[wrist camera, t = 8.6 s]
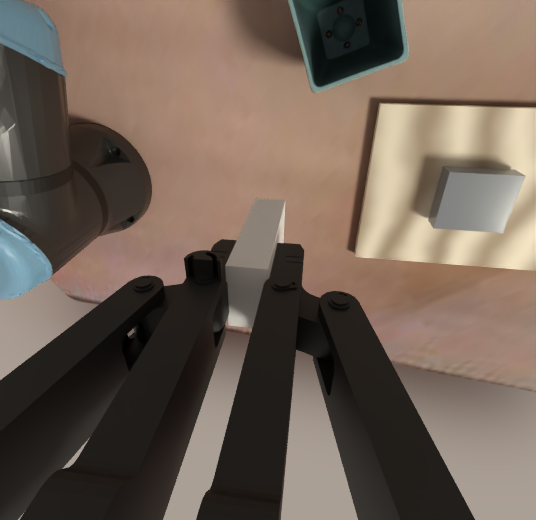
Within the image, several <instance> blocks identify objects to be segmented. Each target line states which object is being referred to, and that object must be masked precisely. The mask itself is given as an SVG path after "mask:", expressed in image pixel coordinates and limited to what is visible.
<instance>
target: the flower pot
mask: <svg viewBox="0 0 536 520" xmlns="http://www.w3.org/2000/svg"><path fill="white" fill-rule="evenodd" d="M288 3H289V7H290V11H291V15H292V18H293V21H294V25H295V29H296V33H297V36H298V41H299V44H300V48H301V52H302V56H303V60H304V63H305V68H306V72H307V76H308V80H309V84H310V88H311V90H312V92H313V93H320V92H323V91H325V90H328V89H330V88H333V87H336V86H338V85H341V84H344V83H346V82H349V81H352V80H354V79H357V78H360V77H363V76H366V75H368V74H371V73H374V72H377V71H379V70H382V69H385V68H388V67H391V66H393V65H397V64H399V63H402V62H404V61H406V60H407V59H408V57H409V46H408V39H407V32H406V26H405V19H404V12H403V5H402V0H288ZM338 8H342V9H343V11H342V13H341V14H339V13H338ZM358 19H361V21H362V22H361V24H360V25H357V23H356V21H357V20H358ZM328 31H329V32H331V36H330V37H327V36H326V33H327V32H328ZM346 42H349V47H347V48H346V47H345V43H346Z"/></svg>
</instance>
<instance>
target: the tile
mask: <svg viewBox="0 0 536 520" xmlns="http://www.w3.org/2000/svg"><path fill="white" fill-rule="evenodd" d="M525 177H526V176H525V175H523V174H522V173H520V172H518V171H516V170H513V169H492V168H471V167H450V166H443V168H442V172H441V175H440V179H439V182H438V186H437V190H436V193H435V197H434V200H433V204H432V208H431V211H430V215H429V218H428V221H429V222H430V224H431V225H432V227H433V228H434V229H449V230H464V231H479V232H494V233H503V231H504V228H505V226H506V223H507V221H508V218H509V216H510V214H511V211H512V209H513V206H514V204H515V201H516V199H517V196H518V194H519V192H520V189H521V187H522V184H523V182H524V179H525Z"/></svg>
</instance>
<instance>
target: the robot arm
mask: <svg viewBox="0 0 536 520" xmlns="http://www.w3.org/2000/svg"><path fill="white" fill-rule="evenodd" d="M65 77H67V73H66V71H65V69H64V68H63V62H62V55H61V48H60V41H59V35H58V31H57V28H56V26H55V24H54V22H53V21H52V19H51V18H50V17H49V15H48V14H47V13H46V12H45V11H43V10H42V9H41V8H39V7H38V6H36V5H34V4H31V3H29V2H26V1H24V0H0V299H11V298H15V297H19V296H21V295H23V294H25V293H27V292H28V291H30V290H31V289H33V288H34V287H35V286H37V285H38V284H40V283H43V282H44V281H47V280H48V279H49V278H50V277H51V276H52V275H53V274H54V273H55V272H57V271H58V270H59V269H60V268H61V267H63V266H64V265H65V264H66V263H67V262H68V261H70V260H71V259H72V258H73V257H74V256H75V255H77V254H78V253H79V252H80V251H81V250H83V249H84V248H85V247H86V246H87V245H88V244H90V243H91V242H92V241H93V240H94V239H96V238H97V237H98V236H102V235H106V234H110V233H114V232H118V231H122V230H124V229H126V228H128V227H130V226H132V225H133V224H134V223H135V222H137V221H138V220H139V219H140V218H141V217H142V216H143V215H144V214H145V212H146V211H147V209H148V207H149V204H150V201H151V195H152V185H151V179H150V175H149V172H148V169H147V167H146V165H145V163H144V161H143V159H142V158H141V156H140V154H139V153H138V152H137V150H136V149H135V148H134V147H133V146H132V145H131V144H130V143H129V142H128V141H127V140H126V139H125V138H124V137H122V136H121V135H119V134H118V133H116V132H115V131H113V130H111V129H109V128H107V127H104V126H101V125H98V124H93V123H78V124H74V125H70V126H69V118H68V106H67V94H66V83H65ZM284 218H285V200H274V199H258V198H256V200H255V202H254V204H253V206H252V208H251V210H250V213H249V215H248V217H247V219H246V221H245V224H244V226H243V228H242V230H241V232H240V234H239V237H238V239H237V240H224V239H222V240H220V241H219V242H217V243H216V244H214V246H213V247H212V249H211V251H208V250H206V251H196V252H193V253H190V254H188V255H187V256H186V257H185V258H184V262H185V270H186V277H187V278H186V279H185V281H184V283H183V284H178V285H170V286H164V284H163V281H162V280H161V278H158V277H156V276H141V277H138V278H135V279H133V280H131V281H130V282H128V283H127V284H125V285H124V286H123V287H122V288H120V289H119V290H118V291H116V292H115V293H114V294H112V295H111V296H110V297H108V298H107V299H106V300H105V301H103V302H102V303H101V304H99V305H98V306H97V307H95V308H94V309H93V310H91V311H90V312H89V313H88V314H86V315H85V316H84V317H82V318H81V319H80V320H78V321H77V322H76V323H75V324H74V325H72V326H71V327H69V328H68V329H67V330H65V331H64V332H63V333H61V334H60V335H59V336H58V337H56V338H55V339H54V340H52V341H51V342H50V343H48V344H47V345H46V346H45V347H43V348H42V349H41V350H39V351H38V352H37V353H35V354H34V355H33V356H32V357H30V358H29V359H28V360H26V361H25V362H24V363H22V364H21V365H20V366H18V367H17V368H16V369H15V370H13V371H12V372H11V373H9V374H8V375H7V376H5V377H4V378H3V379H2V380H0V520H18V519H19V517H20V516H21V515H22V514H23V513H24V514H23V516H22V517H21V519H20V520H163V518H164V515H165V512H166V509H167V506H168V503H169V500H170V497H171V494H172V491H173V488H174V485H175V482H176V479H177V476H178V473H179V471H180V467H181V465H182V462H183V459H184V456H185V453H186V450H187V447H188V444H189V441H190V438H191V435H192V432H193V429H194V426H195V423H196V420H197V417H198V415H199V412H200V409H201V406H202V402H203V399H204V397H205V394H206V391H207V388H208V385H209V382H210V379H211V376H212V373H213V370H214V367H215V364H216V361H217V358H218V356H219V352H220V349H221V347H222V343H223V341H224V338H225V335H226V326H225V323H226V320H227V317H228V320H229V325H230V326H240V327H250V328H252V332H251V336H250V340H249V344H248V348H247V352H246V355H245V359H244V363H243V367H242V371H241V375H240V379H239V382H238V386H237V390H236V394H235V398H234V402H233V406H232V410H231V414H230V417H229V421H228V425H227V429H226V433H225V437H224V441H223V445H222V449H221V452H220V456H219V460H218V465H217V468H216V472H215V476H214V479H213V483H212V486H211V488H210V490H208V491H207V492H206V493H205V495H204V497H203V500H202V502H201V505H200V509H199V512H198V515H197V519H196V520H281V509H282V497H283V487H284V475H285V465H286V453H287V443H288V432H289V420H290V409H291V399H292V388H293V377H294V365H295V357H296V350H299V351H302V352H305V353H307V354H310V355H312V356H313V361H314V364H315V368H316V372H317V375H318V379H319V383H320V386H321V389H322V393H323V396H324V400H325V403H326V407H327V411H328V414H329V418H330V421H331V425H332V428H333V432H334V436H335V439H336V443H337V446H338V450H339V453H340V457H341V460H342V464H343V467H344V471H345V474H346V478H347V481H348V485H349V489H350V492H351V495H352V499H353V503H354V506H355V510H356V513H357V517H358V520H475V519H474V517H473V515H472V513H471V511H470V509H469V508H468V506H467V504H466V502H465V500H464V498H463V496H462V494H461V492H460V491H459V489H458V487H457V485H456V483H455V482H454V479H453V477H452V476H451V474H450V472H449V470H448V468H447V466H446V464H445V463H444V461H443V459H442V457H441V455H440V453H439V451H438V450H437V448H436V446H435V444H434V442H433V440H432V438H431V436H430V434H429V432H428V431H427V429H426V427H425V425H424V424H423V421H422V419H421V417H420V416H419V414H418V412H417V410H416V408H415V406H414V404H413V403H412V401H411V399H410V397H409V395H408V393H407V391H406V390H405V388H404V386H403V384H402V382H401V380H400V378H399V376H398V375H397V373H396V371H395V369H394V367H393V365H392V363H391V361H390V359H389V358H388V356H387V354H386V352H385V350H384V348H383V346H382V344H381V343H380V341H379V339H378V337H377V335H376V333H375V331H374V329H373V328H372V326H371V324H370V322H369V320H368V318H367V316H366V314H365V313H364V311H363V309H362V307H361V305H360V303H359V302H358V300H357V299H356V298H355V297H353V296H352V295H350V294H348V293H345V292H340V291H332V292H327V293H325V294H323V295H322V296H321V298H319V297H316V296H313V295H311V294H309V293H308V292H306V291H305V290H304V289H303V287H302V273H303V260H304V249H303V248H302V247H301V245H300V244H288V243H283V242H284ZM133 328H134V331H135V332H134V333H133V334H132V335H131V336H129V337H128V335H127V334H128V333H129V332H130V331H131V330H132V329H133ZM90 436H91V437H90ZM89 437H90V439H89ZM88 439H89V440H88ZM87 440H88V442H87V444H86V445H85V447H84V449H83V450H82V452H81V454H80V455H79V457H78V458H77V460H76V461H75V463H74V464H73V465H71V466H70V467H69V468H65V469H62V468H63V467H64V466H65V465H66V463H68V461H69V460H70V459H71V458H72V457H73V456H74V455H75V453H76V452H77V451H78V450H79V449H80V448H81V446H82V445H83V444H84V443H85V442H86V441H87Z"/></svg>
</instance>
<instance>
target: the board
mask: <svg viewBox="0 0 536 520" xmlns="http://www.w3.org/2000/svg"><path fill="white" fill-rule="evenodd" d="M443 166H450V167H471V168H492V169H513V170H516V171H518V172H520V173H522V174H523V175H525V176H526V177H525V179H524V182H523V184H522V187H521V189H520V192H519V194H518V196H517V199H516V201H515V204H514V206H513V209H512V211H511V214H510V216H509V218H508V221H507V223H506V226H505V228H504V231H503V233H494V232H479V231H464V230H449V229H434V228H433V227H432V225H431V224H430V222H429V221H428V218H429V215H430V211H431V208H432V204H433V200H434V197H435V193H436V190H437V186H438V182H439V179H440V175H441V172H442V168H443ZM354 254H355V257H365V258H378V259H391V260H403V261H416V262H429V263H442V264H455V265H468V266H481V267H494V268H507V269H520V270H533V271H536V107H511V106H477V105H443V104H409V103H379V106H378V112H377V118H376V124H375V130H374V136H373V142H372V148H371V154H370V160H369V166H368V172H367V178H366V185H365V191H364V197H363V203H362V209H361V215H360V221H359V227H358V233H357V239H356V245H355V251H354Z"/></svg>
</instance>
